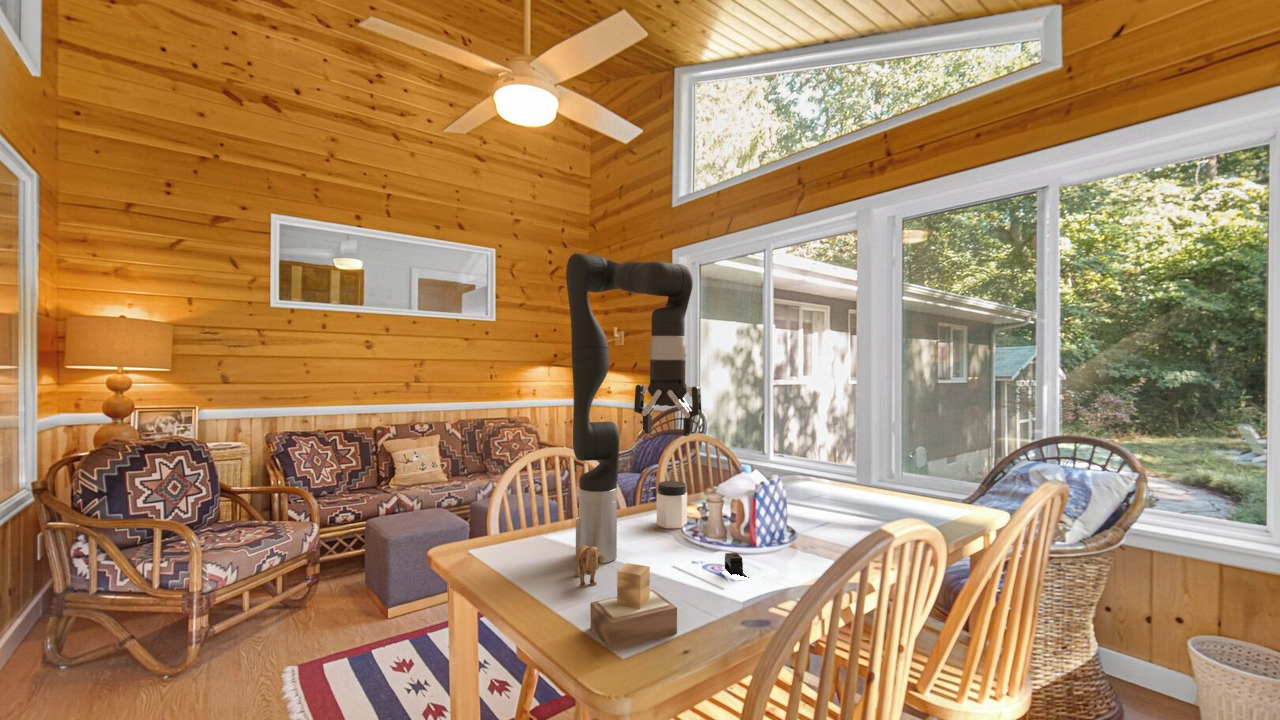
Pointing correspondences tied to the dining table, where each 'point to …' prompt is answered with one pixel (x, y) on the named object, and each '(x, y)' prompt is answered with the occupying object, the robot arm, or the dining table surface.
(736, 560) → the black block
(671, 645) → the dining table surface
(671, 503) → the jar
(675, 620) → the plinth
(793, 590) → the dining table surface
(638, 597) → the oak block
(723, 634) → the dining table surface
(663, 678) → the dining table surface
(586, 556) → the lion figurine
